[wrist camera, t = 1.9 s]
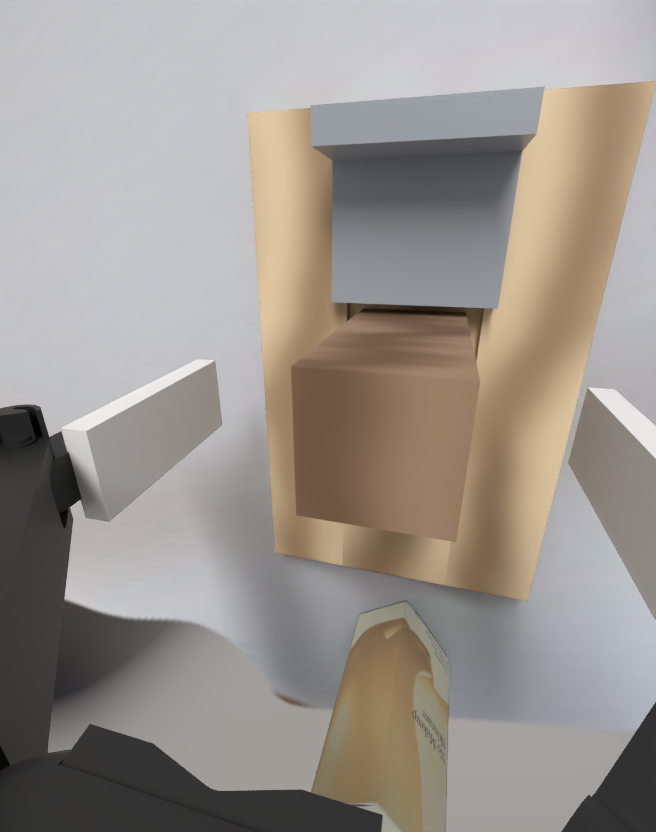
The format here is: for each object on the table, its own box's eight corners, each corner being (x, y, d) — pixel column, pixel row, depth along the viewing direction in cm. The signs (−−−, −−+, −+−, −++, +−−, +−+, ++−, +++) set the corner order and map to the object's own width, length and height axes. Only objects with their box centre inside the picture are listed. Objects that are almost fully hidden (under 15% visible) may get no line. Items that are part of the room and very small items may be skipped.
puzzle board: (638, 94, 16) (656, 80, 15) (523, 581, 26) (527, 601, 25) (261, 121, 20) (247, 113, 19) (283, 537, 30) (274, 552, 29)
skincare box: (452, 660, 30) (452, 896, 19) (400, 672, 32) (374, 893, 21) (405, 595, 29) (378, 807, 18) (354, 611, 31) (302, 812, 20)
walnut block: (465, 312, 20) (480, 381, 10) (453, 408, 22) (455, 542, 12) (363, 308, 21) (290, 366, 12) (360, 399, 23) (296, 515, 14)
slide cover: (524, 120, 16) (544, 86, 13) (495, 305, 19) (506, 320, 15) (338, 132, 18) (310, 105, 14) (336, 299, 21) (313, 312, 17)
